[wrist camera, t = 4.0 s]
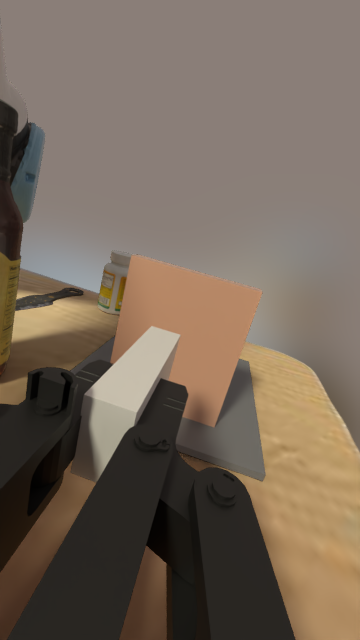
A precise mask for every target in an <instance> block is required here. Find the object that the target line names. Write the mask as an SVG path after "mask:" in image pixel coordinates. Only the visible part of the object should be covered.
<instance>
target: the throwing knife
mask: <svg viewBox="0 0 360 640" xmlns="http://www.w3.org/2000/svg"><path fill="white" fill-rule="evenodd" d="M70 291H75V292H78V293H74V292H70ZM83 293H84V292H83V291H81V290H79V289H75V288H64V289H63V290H61V291H59V292H55V293H50V294H45V295H31V296H26V297H23V298H20V299H17V300H16V305H17V306H15V311H16V310H23V309H30V308H36V307H42V306H47V305H52V304H53V301H55V300H57V299H61V298H65V297H70V296H81V295H83Z"/></svg>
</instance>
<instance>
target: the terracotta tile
mask: <svg viewBox="0 0 360 640" xmlns="http://www.w3.org/2000/svg"><path fill="white" fill-rule="evenodd" d="M261 295H262V291H261V290H260V289H257V288H254V287H251V286H247V285H243V284H240V283H236V282H233V281H229V280H226V279H222V278H219V277H215V276H212V275H208V274H204V273H201V272H198V271H194V270H190V269H187V268H184V267H180V266H176V265H173V264H169V263H166V262H162V261H159V260H155V259H152V258H148V257H145V256H141V255H138V254H137V255H131V260H130V265H129V270H128V275H127V280H126V285H125V290H124V295H123V300H122V305H121V310H120V315H119V320H118V326H117V331H116V336H115V341H114V346H113V351H112V356H111V361H110V363H113V364H115V363H116V362H117V361H118V360H119V359H120V358H121V357H122V356H123V355H124V353H125V352H126V351H127V350H128V349H129V348H130V347H131V346H132V345H133V344H134V343H135V342H136V341H137V340H138V339H139V338H140V337H141V336H142V335H143V334H144V333H145V332H146V331H147V330H148V329H149V328H150V327H151V326H153V327H157V328H160V329H163V330H166V331H170V332H173V333H176V334H180V335H181V336H180V339H179V343H178V347H177V350H176V354H175V358H174V361H173V365H172V369H171V372H170V376H169V380H168V381H171V382H174V383H177V384H180V385H183V386H186V389H187V392H188V399H187V402H186V406H185V409H184V413H183V416H182V417H185V418H188V419H191V420H193V421H196V422H199V423H202V424H205V425H208V426H211V427H215V424H216V422H217V419H218V416H219V413H220V410H221V408H222V405H223V402H224V399H225V396H226V393H227V391H228V388H229V385H230V382H231V379H232V377H233V374H234V371H235V368H236V365H237V363H238V360H239V357H240V354H241V351H242V349H243V346H244V343H245V340H246V337H247V334H248V332H249V329H250V326H251V323H252V320H253V318H254V315H255V312H256V309H257V306H258V304H259V301H260V298H261Z"/></svg>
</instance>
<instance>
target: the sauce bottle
mask: <svg viewBox="0 0 360 640" xmlns="http://www.w3.org/2000/svg"><path fill="white" fill-rule="evenodd" d="M17 131H18V112H17V111H16V109H15V108H13V107H12V106H11V105H9V104H8V103H6V102H5V101H3V100H1V99H0V375H1V374H2V373H3V371H4V370H5V367H6V362H7V359H8V358H9V356H10V348H11V340H12V331H13V322H14V314H15V306H16V297H17V288H18V279H19V270H20V262H21V256H20V247H21V241H22V232H23V219H22V216H21V214H20V211H19V209H18V206H17V204H16V203H15V201H14V198H13V194H12V191H11V187H10V183H9V182H10V177H11V172H10V164H11V152H12V143H13V138H14V136H15V135H16V133H17Z"/></svg>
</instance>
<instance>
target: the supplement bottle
mask: <svg viewBox="0 0 360 640" xmlns="http://www.w3.org/2000/svg"><path fill="white" fill-rule="evenodd" d="M131 255H132V254H129V253H125V252H121V251H112V253H111V257H110V258H111V260H112V262H111V263H108V264H106V265H105V267H104V271H103V277H102V282H101V288H100V293H99V299H98V308H99V309H100V310H101V311H103V312H106V313H109V314H115V315H120V310H121V305H122V300H123V295H124V290H125V285H126V280H127V275H128V270H129V265H130V260H131Z"/></svg>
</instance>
